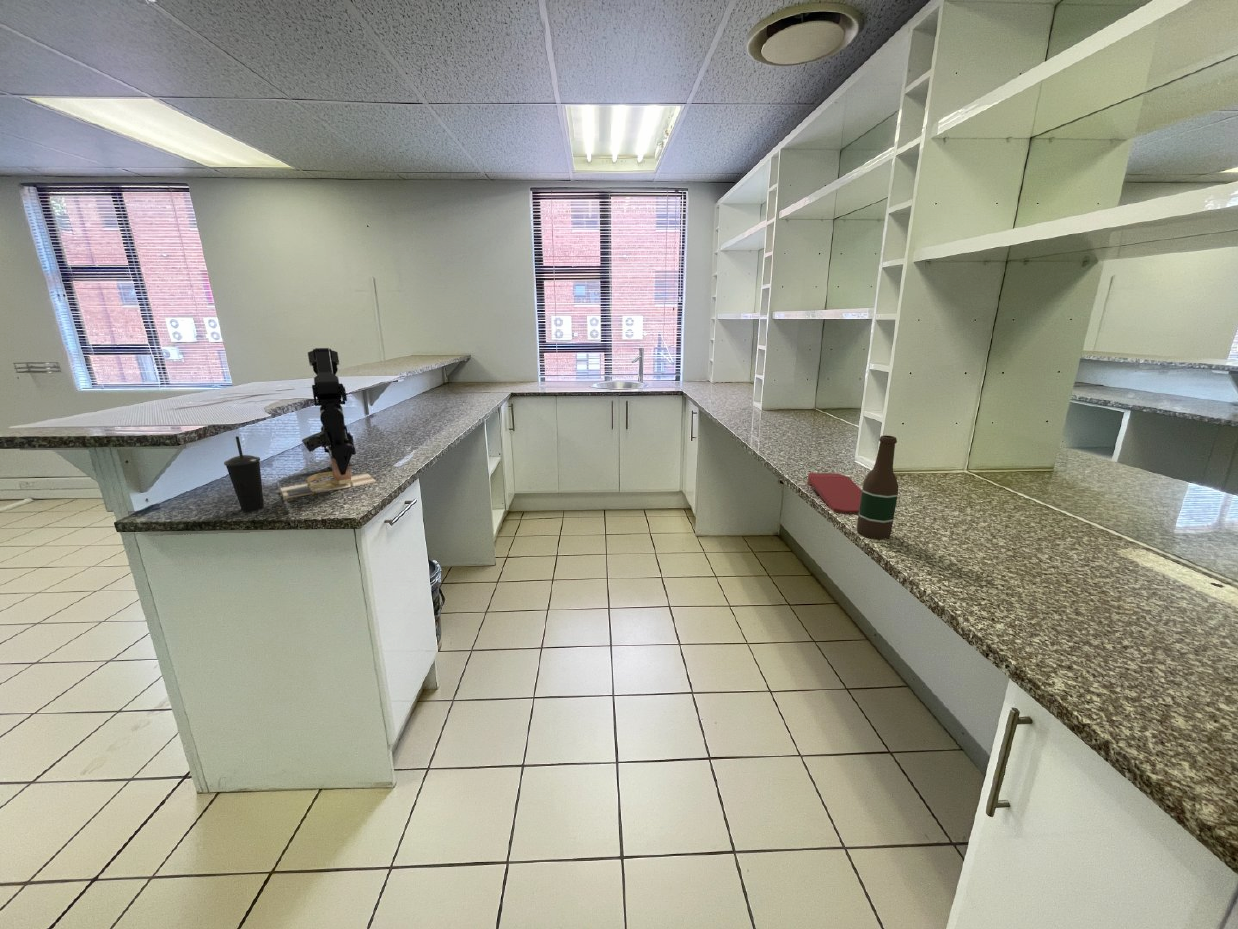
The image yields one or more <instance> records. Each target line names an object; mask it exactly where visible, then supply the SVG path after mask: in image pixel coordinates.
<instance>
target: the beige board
mask: <svg viewBox="0 0 1238 929" xmlns="http://www.w3.org/2000/svg"><path fill="white" fill-rule="evenodd" d="M329 480H334V479H333V478H332V479H327V480H325V479H324V480H319V482H317V481H314V482H313V481H312V482H310V486H308V485H307V483H302V484H295V485H291V486H290V485H289V486H285V487H284V486H283V487H280V489H279V490H280V492H282V493H281V494H282V497H283V499H284V501H285V503H287V502H289V499H291V498H298V497H303V496H308V495H314V494H319V493H326V492H331V491H336V490H341V489H347V488H353V487H358V486H364V485H369V484H374V483H378V481H377V480H375V478H373V477H372V475H370V474H369V473H368V472H367V473H361V474H355V475H351V481H352V482H353V486H352V487H351V485H350V483H346V484H340V485H335V484H333V488H331V486H330V485H329V486H327V487H323V488H317V489H315V493H314V494H313V493H312V489H313V487H312V485H313V484H319V483H325V482H327V481H329Z"/></svg>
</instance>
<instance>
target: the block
mask: <svg viewBox="0 0 1238 929" xmlns="http://www.w3.org/2000/svg"><path fill="white" fill-rule="evenodd" d="M329 458H330V463H331V464H330V465H332V469H331V470H332V471H333V476H334V480H342V479H348V478H351V476H352V475H351V474H352V473H351V467H349V464H348V467H347V471H346V474H345V475H341V473H340V471H339V468H338V466H337V463H336V460H335V459H334V458H332V457H330V456H329Z"/></svg>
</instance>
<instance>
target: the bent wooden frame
mask: <svg viewBox="0 0 1238 929" xmlns="http://www.w3.org/2000/svg"><path fill="white" fill-rule="evenodd" d="M331 476H332V479H334V476H333V470H332V471H326V472H322V473H321V472H320V473H316V474H312V475H310V476H309V477H306V484H307V485H308V486H310V483H311V482H313V481H315V480H316V481H315V482H319V481H320V479H321V478H327V477H331ZM328 480H329V481H327V482H325V483H319V484H313V485H312V487H313V489H312V493H313V494H312V495H314V493H315V489H317V488H323V487H327V486H329V485H330V486H331V488H333V484H335V485H340V484H346V483H350V485H351V487H350V488H353V487H354V486H353V482H352V481H351V478H348V479H342V480H330V479H328ZM352 486H353V487H352ZM315 494H316V493H315Z"/></svg>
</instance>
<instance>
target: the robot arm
mask: <svg viewBox="0 0 1238 929" xmlns="http://www.w3.org/2000/svg"><path fill="white" fill-rule="evenodd" d="M307 356H308V363H309V366H310V367H312V370H313V372H314V374H315V375H316V376H315V377H313V383H314V384H312V385H311V388H312V394H313V395H312V397H313V403H314V406H315V407H319V412H320V415H319V418H320V420H319V421H320V423H321V427H320V431H319V432H316V433H314V434H312V435H309V436H307V437H305V438H303V439H302V440H301V442H302V443H303V445H304V446H305V449H306V450H308V452H310V453H311V452H313V451H315V450H316V449H318V448H320V447H321V448H324V449H323V451H324V453H325V454H326V453H327V454H328V456H329V458H330V457H332V458H334V459H335V460H336V463H337V466H338V468H339V471H340V473H341V475H345V474H346V471H347V467H348V464H349V467H350V468H351V467H354V464H352V463H351V459H352V456H353V455H356V454H357V453H356V447H355V444H354V443H355V442H354V437H353V435H352V434H351V433H350V432H349V431H348V429H347V428H348V426H347V425H346V423H345V416H344V410H343V406H342V405H346V402H347V401H348V398H347V397H348V396H347V393H346V392H347V391H346V387H345V386H344V384H343V383H340V379H339V377H338V376H337V373H338V370H339V369H338V366H340V359H339V353H338V351H335V350H333V349H332V348H329V347H315V348H312V350H311V351H309V352H308V351H307ZM329 467H330V469H331V470H332V464H329Z"/></svg>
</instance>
